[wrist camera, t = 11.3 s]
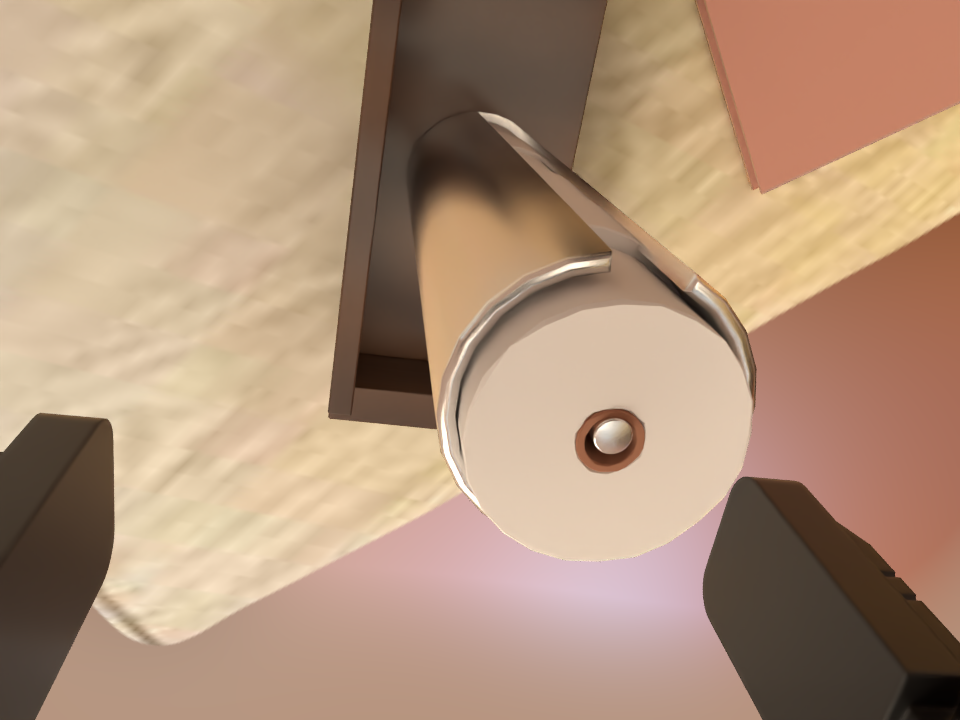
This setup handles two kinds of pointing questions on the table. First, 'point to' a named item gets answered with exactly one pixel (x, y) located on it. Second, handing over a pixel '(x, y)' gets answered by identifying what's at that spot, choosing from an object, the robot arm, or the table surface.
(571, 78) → the shelf
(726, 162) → the table surface
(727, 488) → the beige cylinder
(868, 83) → the notebook
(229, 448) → the table surface
